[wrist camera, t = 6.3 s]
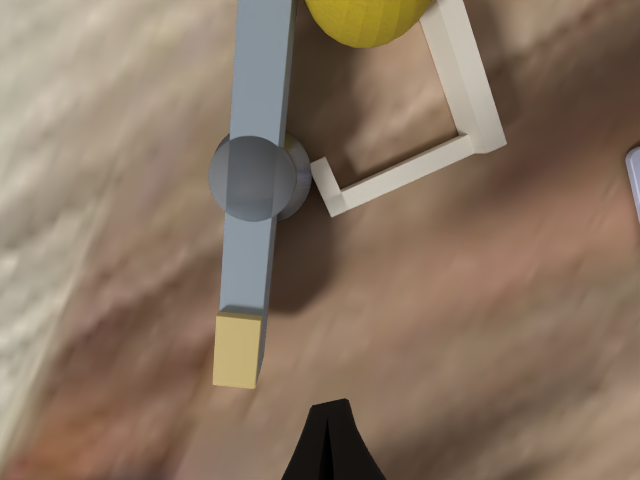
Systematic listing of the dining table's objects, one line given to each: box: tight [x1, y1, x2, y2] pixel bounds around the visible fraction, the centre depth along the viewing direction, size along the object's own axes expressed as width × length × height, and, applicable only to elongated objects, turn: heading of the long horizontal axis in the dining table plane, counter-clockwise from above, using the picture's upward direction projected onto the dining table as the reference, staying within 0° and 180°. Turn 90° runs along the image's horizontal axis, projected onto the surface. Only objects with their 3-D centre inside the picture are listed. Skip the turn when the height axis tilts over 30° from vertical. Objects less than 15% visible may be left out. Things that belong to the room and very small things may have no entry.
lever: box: [208, 0, 298, 389], centre depth 16 cm, size 4×20×3 cm, turn 173°
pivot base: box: [214, 131, 312, 222], centre depth 18 cm, size 5×5×2 cm
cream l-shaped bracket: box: [310, 0, 507, 217], centre depth 17 cm, size 9×11×2 cm
